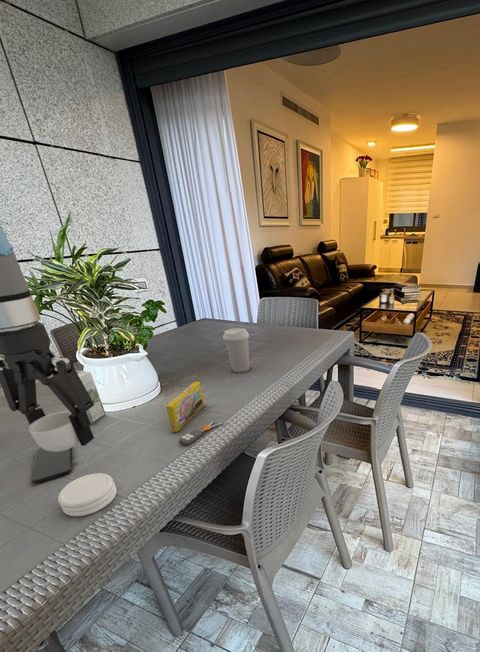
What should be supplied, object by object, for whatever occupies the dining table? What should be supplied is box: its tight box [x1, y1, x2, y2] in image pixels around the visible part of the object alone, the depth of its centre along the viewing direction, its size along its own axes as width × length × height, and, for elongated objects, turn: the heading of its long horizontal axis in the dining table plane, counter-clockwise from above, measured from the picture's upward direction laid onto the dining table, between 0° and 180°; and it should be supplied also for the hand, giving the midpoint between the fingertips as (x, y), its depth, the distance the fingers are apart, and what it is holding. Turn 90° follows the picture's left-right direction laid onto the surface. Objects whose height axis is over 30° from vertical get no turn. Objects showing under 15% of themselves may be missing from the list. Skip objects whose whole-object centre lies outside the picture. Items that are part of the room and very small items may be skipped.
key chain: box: [178, 421, 224, 446], centre depth 96 cm, size 13×4×2 cm, turn 150°
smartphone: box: [31, 447, 73, 484], centre depth 87 cm, size 8×1×16 cm
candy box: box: [165, 381, 205, 433], centre depth 102 cm, size 16×2×8 cm, turn 170°
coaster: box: [57, 472, 118, 517], centre depth 74 cm, size 10×10×4 cm
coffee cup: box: [222, 327, 251, 373], centre depth 133 cm, size 10×10×15 cm
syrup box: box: [75, 370, 106, 424], centre depth 102 cm, size 6×6×14 cm
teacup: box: [27, 410, 80, 452], centre depth 68 cm, size 10×8×5 cm
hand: (68, 440), depth 69 cm, fingers closed on teacup, 8 cm apart
